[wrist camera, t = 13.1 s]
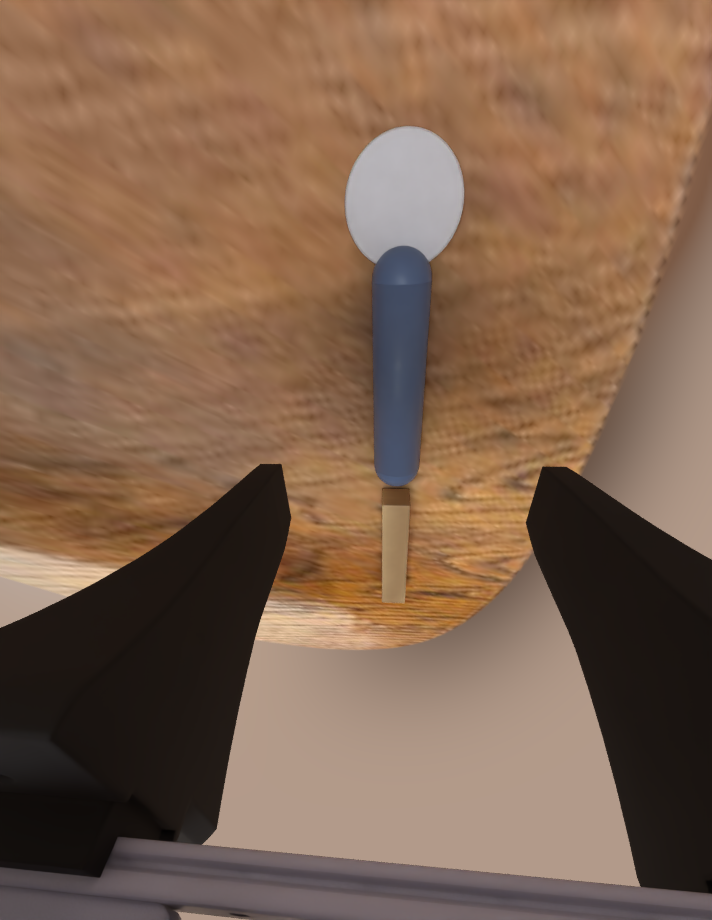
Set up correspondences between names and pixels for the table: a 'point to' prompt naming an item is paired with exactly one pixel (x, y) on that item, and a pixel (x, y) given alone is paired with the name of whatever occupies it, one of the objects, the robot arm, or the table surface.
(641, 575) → the robot arm
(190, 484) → the table surface
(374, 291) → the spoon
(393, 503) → the baton
